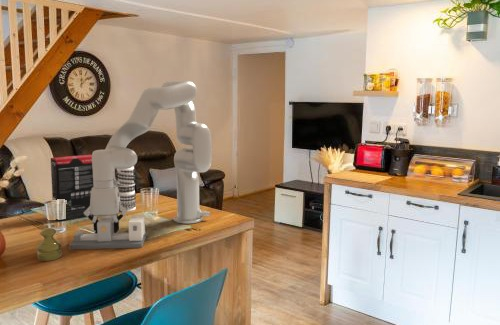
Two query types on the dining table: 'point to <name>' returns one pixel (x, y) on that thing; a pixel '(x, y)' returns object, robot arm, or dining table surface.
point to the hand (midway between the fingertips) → (106, 231)
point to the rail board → (113, 237)
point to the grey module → (105, 228)
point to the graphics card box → (72, 183)
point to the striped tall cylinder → (126, 188)
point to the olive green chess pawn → (49, 246)
